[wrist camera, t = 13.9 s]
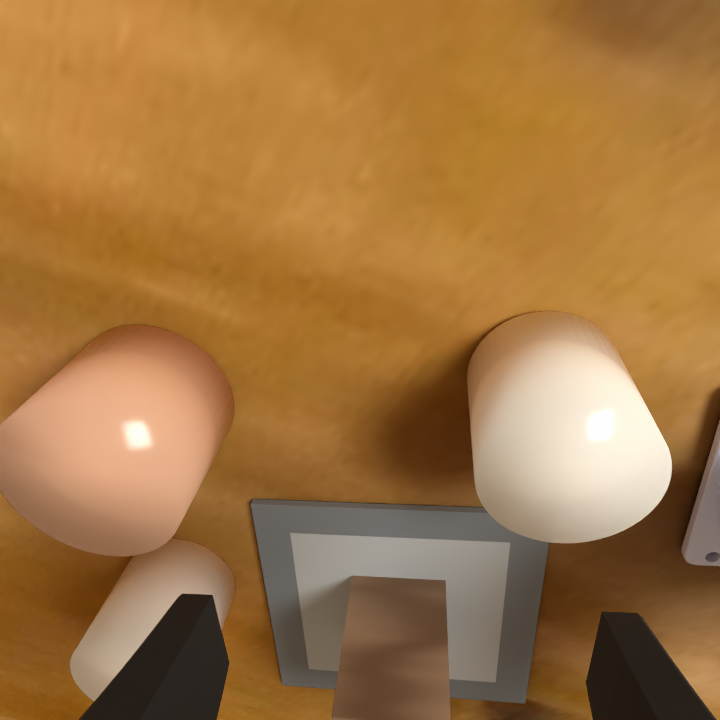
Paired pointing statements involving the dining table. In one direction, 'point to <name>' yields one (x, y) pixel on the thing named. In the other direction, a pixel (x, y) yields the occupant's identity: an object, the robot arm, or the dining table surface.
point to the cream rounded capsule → (147, 607)
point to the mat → (401, 560)
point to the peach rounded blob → (117, 441)
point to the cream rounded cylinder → (561, 431)
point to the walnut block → (394, 651)
